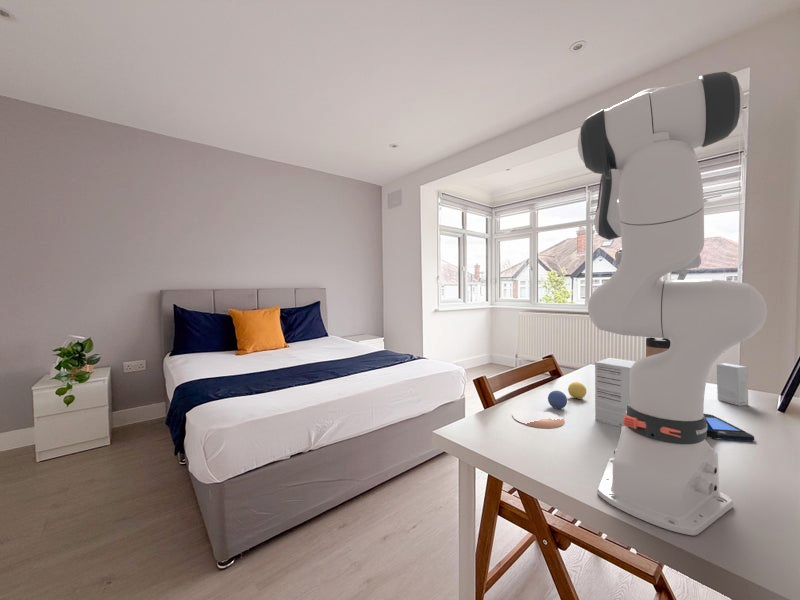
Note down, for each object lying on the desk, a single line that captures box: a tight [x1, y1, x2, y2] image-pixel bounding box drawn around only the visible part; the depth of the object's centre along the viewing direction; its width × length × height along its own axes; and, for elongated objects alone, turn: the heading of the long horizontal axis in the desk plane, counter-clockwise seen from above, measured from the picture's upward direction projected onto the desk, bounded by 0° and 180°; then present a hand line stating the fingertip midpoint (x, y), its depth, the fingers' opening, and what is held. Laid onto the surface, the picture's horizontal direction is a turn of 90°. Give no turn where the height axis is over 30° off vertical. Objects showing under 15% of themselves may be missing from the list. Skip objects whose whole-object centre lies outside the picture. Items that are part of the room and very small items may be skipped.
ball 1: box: [547, 390, 568, 410], centre depth 104 cm, size 6×6×6 cm
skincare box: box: [716, 362, 749, 407], centre depth 106 cm, size 6×4×12 cm
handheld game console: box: [703, 413, 755, 442], centre depth 88 cm, size 16×13×9 cm
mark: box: [525, 418, 565, 429], centre depth 96 cm, size 14×14×1 cm
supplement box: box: [594, 357, 637, 428], centre depth 93 cm, size 10×9×17 cm
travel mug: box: [645, 337, 671, 357], centre depth 111 cm, size 8×8×20 cm
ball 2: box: [567, 381, 587, 400], centre depth 112 cm, size 6×6×6 cm
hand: (661, 289), depth 95 cm, fingers open, 8 cm apart
